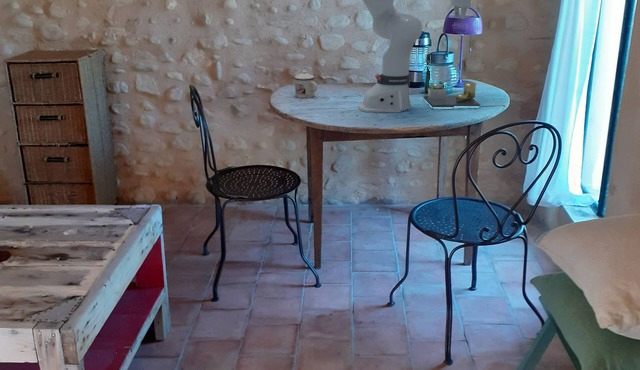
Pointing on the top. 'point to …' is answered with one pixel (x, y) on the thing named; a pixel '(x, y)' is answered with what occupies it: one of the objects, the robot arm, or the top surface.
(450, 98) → the tribrach plate
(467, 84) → the brown boot
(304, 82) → the teacup with lid
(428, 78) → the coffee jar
